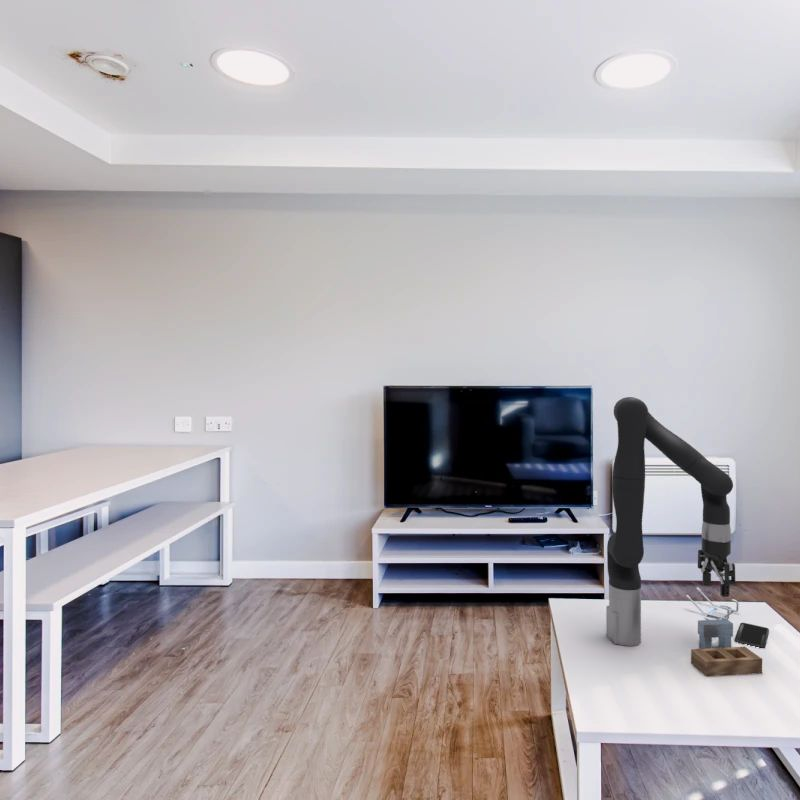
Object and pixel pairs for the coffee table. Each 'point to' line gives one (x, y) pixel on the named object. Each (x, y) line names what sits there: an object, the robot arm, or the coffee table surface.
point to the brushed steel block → (715, 632)
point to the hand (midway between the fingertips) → (715, 590)
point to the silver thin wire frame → (716, 609)
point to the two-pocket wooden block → (726, 661)
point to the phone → (752, 635)
